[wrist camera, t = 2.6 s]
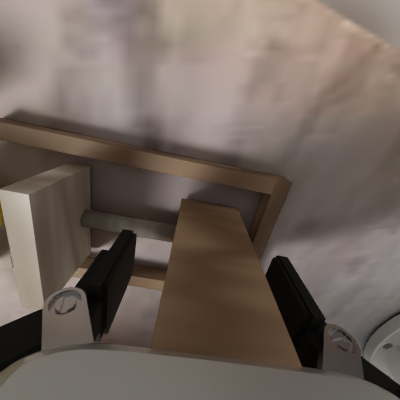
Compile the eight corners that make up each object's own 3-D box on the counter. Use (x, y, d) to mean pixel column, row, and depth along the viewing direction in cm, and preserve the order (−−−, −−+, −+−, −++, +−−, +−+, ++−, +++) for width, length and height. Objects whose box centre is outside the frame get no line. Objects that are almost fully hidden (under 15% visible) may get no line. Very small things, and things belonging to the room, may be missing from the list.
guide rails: (284, 177, 13) (292, 182, 12) (240, 290, 18) (242, 302, 16) (2, 118, 12) (-18, 118, 11) (25, 257, 16) (12, 267, 15)
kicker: (242, 196, 14) (329, 364, 4) (217, 273, 16) (240, 476, 7) (70, 162, 13) (-265, 286, 4) (74, 250, 15) (-110, 449, 6)
